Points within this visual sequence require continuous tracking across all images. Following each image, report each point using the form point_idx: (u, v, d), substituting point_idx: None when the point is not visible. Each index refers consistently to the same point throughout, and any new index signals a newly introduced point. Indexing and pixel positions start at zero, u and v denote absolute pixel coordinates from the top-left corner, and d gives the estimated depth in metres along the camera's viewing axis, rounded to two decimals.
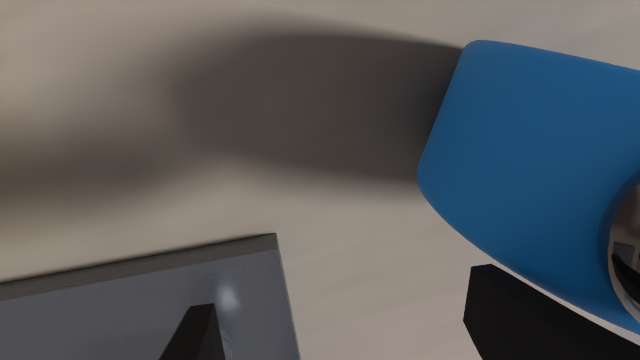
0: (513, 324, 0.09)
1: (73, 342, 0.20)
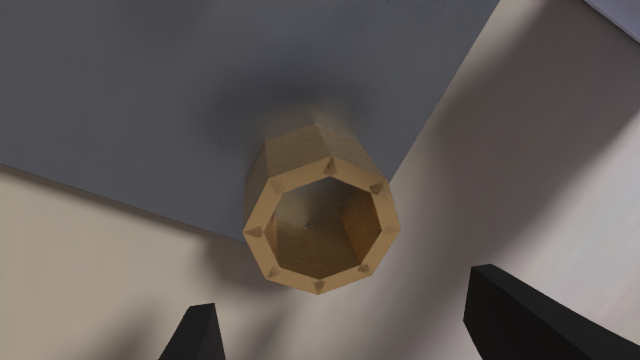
0: (513, 324, 0.09)
1: (97, 25, 0.14)
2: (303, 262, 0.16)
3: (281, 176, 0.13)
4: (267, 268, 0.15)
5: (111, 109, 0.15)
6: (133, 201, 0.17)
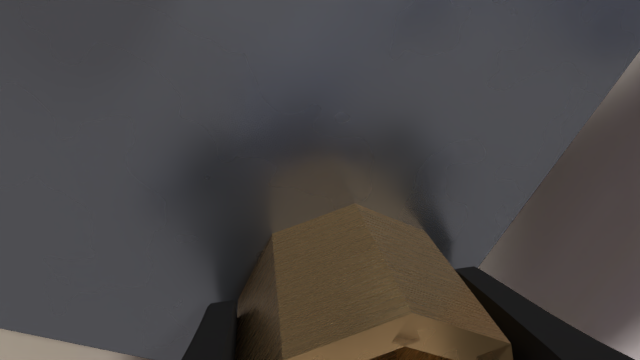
0: None
1: None
2: None
3: (309, 355, 0.06)
4: None
5: None
6: (53, 331, 0.10)
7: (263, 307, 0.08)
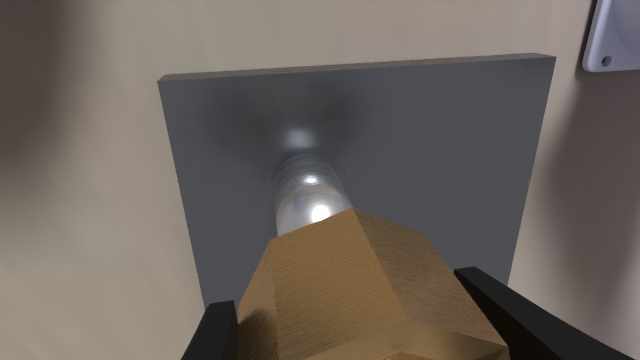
0: (494, 327, 0.09)
1: None
2: None
3: None
4: None
5: None
6: None
7: (262, 313, 0.09)
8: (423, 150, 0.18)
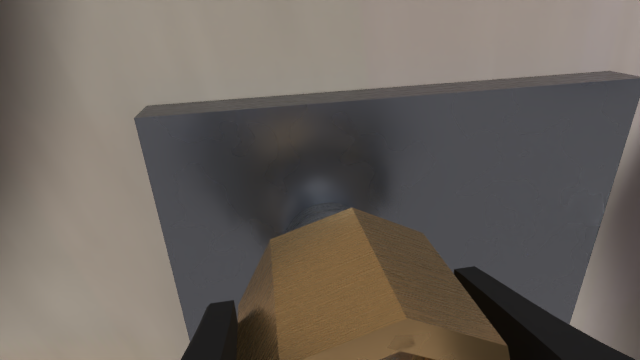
0: (494, 327, 0.09)
1: None
2: None
3: None
4: None
5: None
6: None
7: (262, 313, 0.09)
8: (473, 195, 0.14)
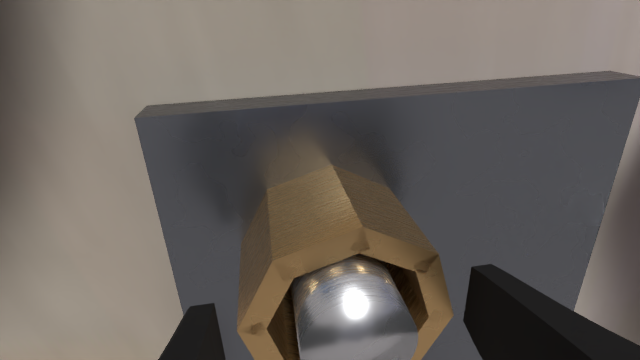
0: (513, 324, 0.09)
1: None
2: None
3: (290, 257, 0.09)
4: None
5: None
6: None
7: (260, 238, 0.11)
8: (473, 195, 0.14)
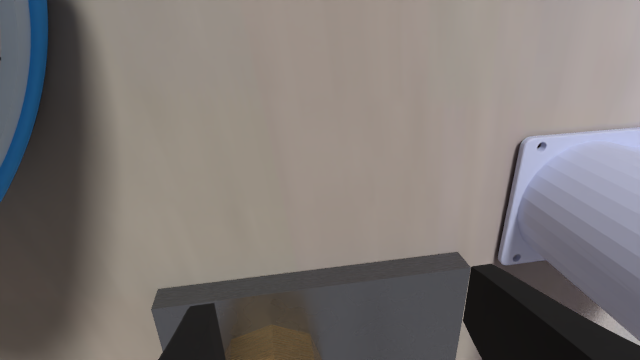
0: (513, 324, 0.09)
1: None
2: None
3: None
4: None
5: None
6: None
7: None
8: (366, 334, 0.22)
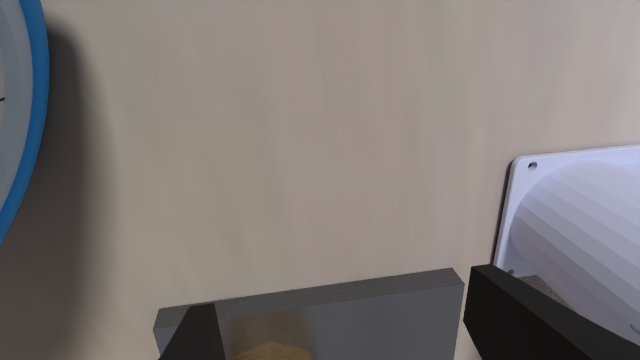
0: (513, 324, 0.09)
1: None
2: None
3: None
4: None
5: None
6: None
7: None
8: (363, 349, 0.23)
